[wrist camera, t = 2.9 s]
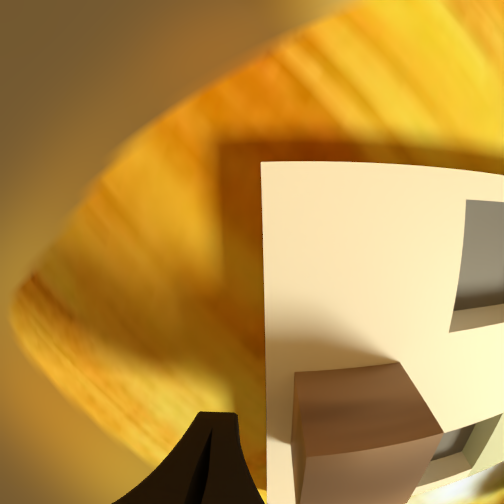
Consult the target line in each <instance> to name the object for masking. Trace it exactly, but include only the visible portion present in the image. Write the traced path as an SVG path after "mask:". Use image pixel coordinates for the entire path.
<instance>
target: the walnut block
mask: <svg viewBox="0 0 504 504" xmlns="http://www.w3.org/2000/svg"><path fill="white" fill-rule="evenodd" d="M443 434H444V431H443V430H442V428H441V426H440V425H439V423H438V422H437V420H436V418H435V417H434V415H433V413H432V412H431V410H430V409H429V407H428V405H427V404H426V402H425V401H424V399H423V397H422V396H421V394H420V393H419V391H418V390H417V388H416V386H415V385H414V383H413V382H412V380H411V379H410V377H409V376H408V374H407V373H406V371H405V369H404V368H403V366H402V365H401V363H400V362H397V363H390V364H382V365H374V366H365V367H355V368H345V369H333V370H320V371H304V372H294V393H293V413H292V430H291V456H292V467H293V479H294V491H295V504H405V503H407V502H408V500H409V498H410V497H411V495H412V494H413V492H414V490H415V488H416V487H417V485H418V483H419V481H420V480H421V478H422V476H423V474H424V472H425V471H426V469H427V467H428V465H429V463H430V461H431V459H432V457H433V455H434V453H435V451H436V449H437V447H438V445H439V443H440V441H441V438H442V436H443Z"/></svg>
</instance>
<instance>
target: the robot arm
mask: <svg viewBox="0 0 504 504" xmlns="http://www.w3.org/2000/svg"><path fill="white" fill-rule="evenodd" d="M112 504H265V503H264V501H263V500H262V498H261V496H260V494H259V492H258V490H257V488H256V486H255V484H254V482H253V479H252V477H251V475H250V472H249V470H248V467H247V465H246V462H245V459H244V456H243V452H242V449H241V445H240V436H239V425H238V415H237V414H236V413H230V412H199V413H198V414H197V415H196V417H195V419H194V420H193V422H192V424H191V425H190V427H189V428H188V430H187V431H186V432H185V434H184V435H183V437H182V438H181V439H180V441H179V442H178V443H177V445H176V446H175V447H174V448H173V450H172V451H171V452H170V453H169V455H168V456H167V457H166V458H165V459H164V460H163V461H162V462H161V463H160V465H159V466H158V467H157V468H156V469H155V470H154V471H153V472H152V473H151V474H150V475H149V476H148V477H147V478H145V479H144V480H143V481H142V482H141V483H140V484H139V485H138V486H136V487H135V488H134V489H132V490H131V491H130V492H128V493H127V494H126V495H124V496H123V497H121V498H120V499H119V500H117V501H116V502H114V503H112Z"/></svg>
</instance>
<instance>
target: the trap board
mask: <svg viewBox="0 0 504 504" xmlns="http://www.w3.org/2000/svg"><path fill="white" fill-rule="evenodd" d="M261 188H262V222H263V260H264V303H265V356H266V429H267V504H295V491H294V479H293V467H292V456H291V430H292V413H293V393H294V372H304V371H320V370H333V369H345V368H355V367H365V366H374V365H382V364H390V363H397V362H400V363H401V365H402V366H403V368H404V369H405V371H406V373H407V374H408V376H409V377H410V379H411V380H412V382H413V383H414V385H415V386H416V388H417V390H418V391H419V393H420V394H421V396H422V397H423V399H424V401H425V402H426V404H427V405H428V407H429V409H430V410H431V412H432V413H433V415H434V417H435V418H436V420H437V422H438V423H439V425H440V426H441V428H442V430H443V431H444V434H443V436H442V438H441V441H440V443H439V445H438V447H437V449H436V451H435V453H434V455H433V457H432V459H431V461H430V463H429V465H428V467H427V469H426V471H425V472H424V474H423V476H422V478H421V480H420V481H419V483H418V485H417V487H416V488H415V490H414V492H413V494H412V495H416V494H419V493H423V492H426V491H429V490H432V489H436V488H439V487H442V486H445V485H447V484H450V483H453V482H456V481H458V480H461V479H464V478H466V477H469V476H471V475H474V474H476V473H478V472H481V471H483V470H485V469H488V468H490V467H492V466H494V465H496V464H498V463H501V462H503V461H504V175H499V174H492V173H484V172H476V171H468V170H459V169H450V168H440V167H429V166H416V165H402V164H386V163H365V162H328V161H281V162H261ZM412 495H411V496H412Z"/></svg>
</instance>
